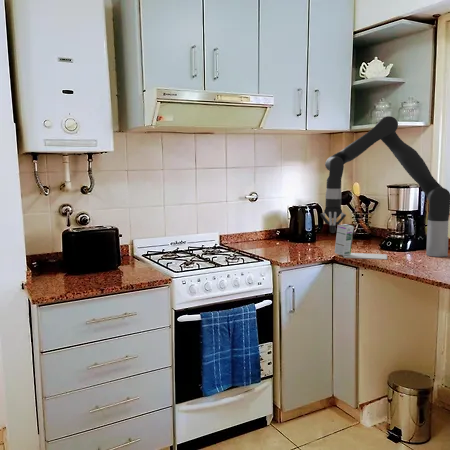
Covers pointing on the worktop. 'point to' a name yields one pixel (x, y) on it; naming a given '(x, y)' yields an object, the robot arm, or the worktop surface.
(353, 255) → the grey mat
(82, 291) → the worktop surface
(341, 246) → the syrup box
